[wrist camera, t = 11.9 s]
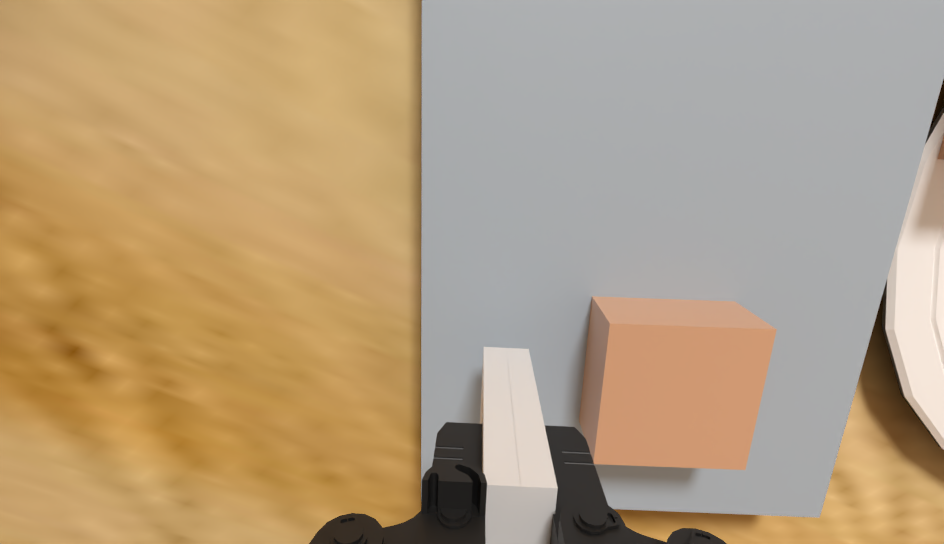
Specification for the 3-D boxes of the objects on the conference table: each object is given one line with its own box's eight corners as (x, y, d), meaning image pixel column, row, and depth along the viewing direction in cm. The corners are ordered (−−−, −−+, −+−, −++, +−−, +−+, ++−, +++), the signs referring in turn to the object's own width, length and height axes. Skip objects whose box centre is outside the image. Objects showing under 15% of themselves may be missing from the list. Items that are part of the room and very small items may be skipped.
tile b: (578, 420, 18) (593, 464, 16) (591, 296, 17) (609, 323, 15) (711, 425, 18) (745, 470, 16) (735, 301, 17) (776, 329, 15)
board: (429, 453, 22) (421, 501, 20) (432, -177, 16) (422, -245, 13) (775, 467, 22) (819, 517, 19) (929, -165, 16) (1031, -232, 13)
